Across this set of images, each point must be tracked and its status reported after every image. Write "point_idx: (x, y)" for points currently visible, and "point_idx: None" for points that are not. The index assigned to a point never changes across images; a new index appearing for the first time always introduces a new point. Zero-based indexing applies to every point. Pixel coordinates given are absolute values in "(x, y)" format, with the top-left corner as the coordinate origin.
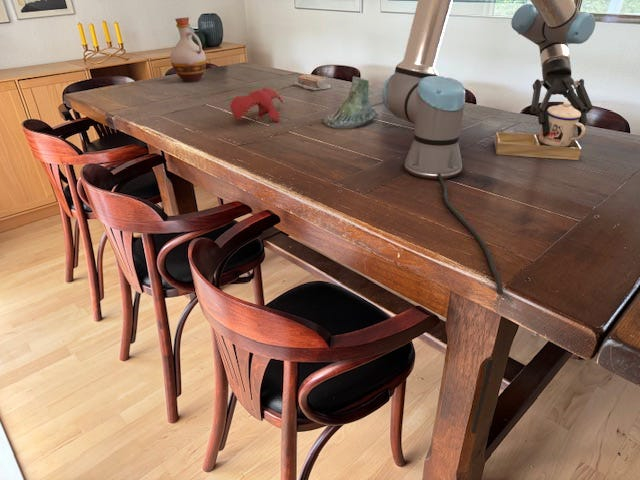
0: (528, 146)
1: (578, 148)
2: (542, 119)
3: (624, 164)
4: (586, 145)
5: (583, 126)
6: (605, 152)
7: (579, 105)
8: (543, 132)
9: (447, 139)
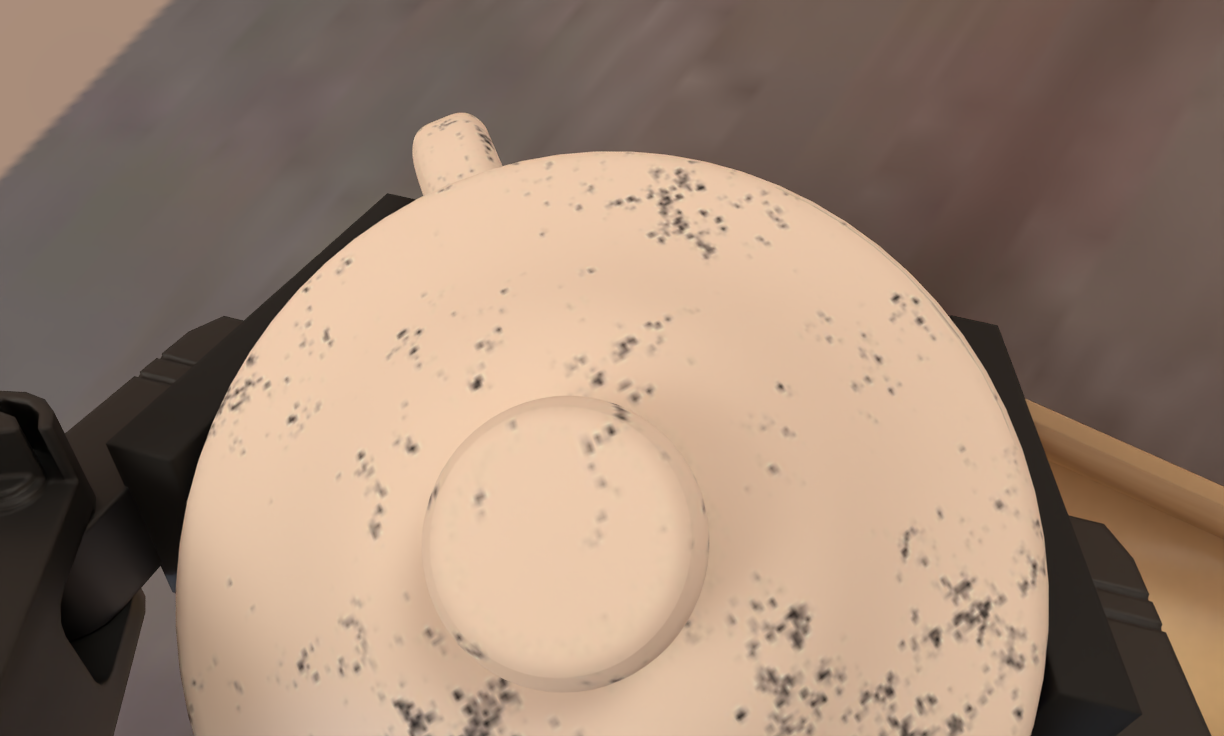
0: (1085, 428)
1: None
2: (1095, 570)
3: (220, 47)
4: (148, 611)
5: (446, 123)
6: (132, 364)
7: (23, 611)
8: None
9: None
